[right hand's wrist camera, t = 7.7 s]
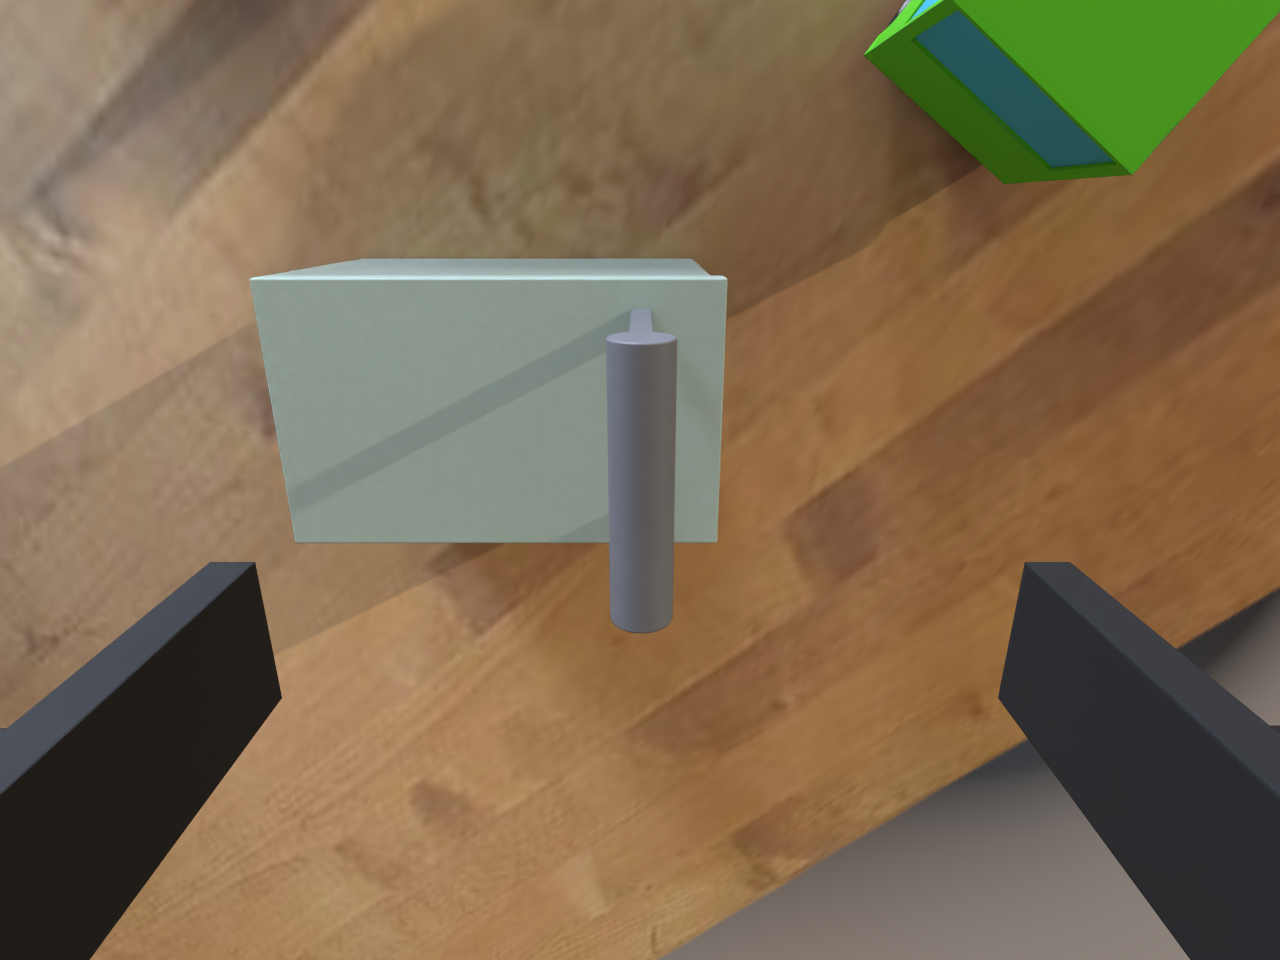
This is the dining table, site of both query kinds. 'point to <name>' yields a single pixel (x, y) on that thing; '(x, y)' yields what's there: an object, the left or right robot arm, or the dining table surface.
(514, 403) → the lid
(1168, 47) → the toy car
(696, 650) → the dining table surface
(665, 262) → the chest
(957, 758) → the dining table surface
